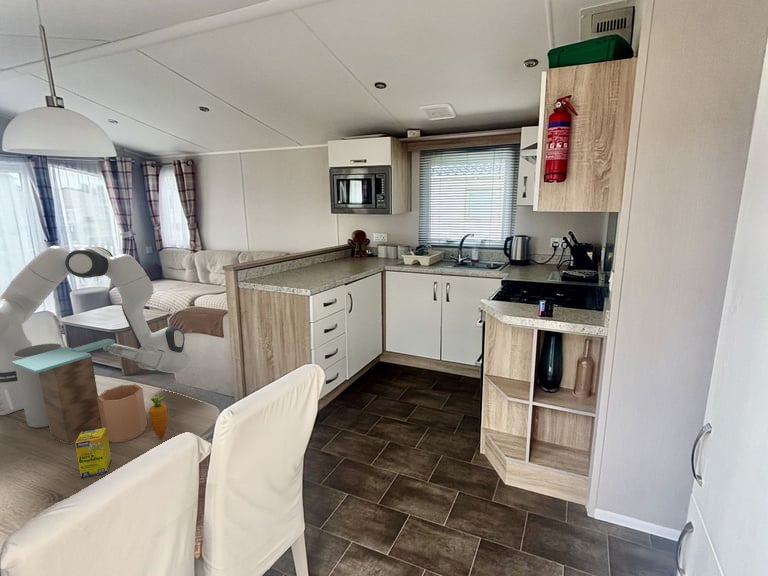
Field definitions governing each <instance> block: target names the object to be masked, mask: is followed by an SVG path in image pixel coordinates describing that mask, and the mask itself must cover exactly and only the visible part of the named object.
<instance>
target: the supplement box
mask: <svg viewBox="0 0 768 576" xmlns="http://www.w3.org/2000/svg"><path fill="white" fill-rule="evenodd" d="M74 445H75V452H76V457H77V462H78V468H79V474H80V479H85V478H90V477H93V476H94V475H95V476H98V475H97V474H99V475H102V474H101V473H105V474H107V473H108V471H109V469H110V466H109V465H111V464H112V463H111V462H112V456H111V449H110V442H109V441H108V435H107V428H106V427H105V428H101V429H96V430H90V431H83V432H81V433H80V435H79V437H78V439H77V440H76V442H74ZM108 468H109V469H108ZM107 470H108V471H107Z"/></svg>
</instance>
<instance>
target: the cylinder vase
mask: <svg viewBox="0 0 768 576" xmlns="http://www.w3.org/2000/svg"><path fill="white" fill-rule="evenodd" d="M63 347H64V346H63V344H61V343H54V342H53V343H50V342H49V343H42V344H36V345H32V346H31V347H27V348H23V349H21V350H18V351H16V352H14V353H13V360H14V361H16V360H20V359H23V358H27V357H31V356H34V355H38V354H41V353H45V352H49V351H52V350H56V349H59V348H63ZM15 369H16V374H17V378H18V383H19V388H20V393H21V397H22V402H23V407H24V409H23V410H24V411H23V412H24V415H25V416H24V417H25V421H26V424H27V426H28V427H31V428H35V429H37V428H46V427H49V422H48V417H47V412H46V407H45V402H44V397H43V392H42V387H41V382H40V377H39V373H33V372H31V371H28V370H25V369H23V368H20V367H17V366H15Z"/></svg>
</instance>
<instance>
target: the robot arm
mask: <svg viewBox="0 0 768 576" xmlns="http://www.w3.org/2000/svg"><path fill="white" fill-rule="evenodd" d="M70 274H71V275H73V276H75V277H77V278H83V279H85V278H86V279H91V278H96V277H104V276H106V277H107V278H109V279H110V280H111V282H112V283H113V284H114V286H115V288H116V289H117V291H118V294H119V295H120V297H121V303H122V304H121V309H122V312H123V315H124V317H125V319H126V322H127V324H128V326H129V328H130V330H131V332H132V335H133V336H134V339H135V342H136V346H137V348H135V347H131V346H127V345H123V344H119V343H115V344H112V345H109V346H106V347H103V348H102V350H103V351H106V352H107V351H108V354H112V355H115V356H118V357H122V358H125V359H129V360H132V361H134V362H135V363H136V365H137V367H138V368H140V369H144V370H149V371H159V372H162V373H167V374H168V373H170V374H179V373H181V372H184V371H185V370H186V369H187V368H188V367H189V365H190V359H191V358H190V357H191V356H190V355H189V354H188V353H187V351H186V348H185V340H186V339H185V338H186V337H185V335H184V332H183V331H182V330H181V329H180V328H179V327H177V326H174V325H169V326H166V327H164V328H161V329H159V330H157V331H155V332H152V331H151V329H150V326H149V324H148V323H147V321H146V320H147V319H146V318H145V316H144V308H145V306H146V305H147V304H148V302H149V301H150V300H151V299H152V297H153V294H154V285H153V283H152V281H151V278H150V277H149V275H148V274H147V272H146V271H145V270H144V268H143V267H142V265H140V263H139V262H138V261H137V260H136V259H135V258H134V257H133V256H132V255H131V254H128V253H120V254H117V255H116V254H115V255H113V254H112V252H111V251H109V250H108V249H106V248H103V247H99V246H87V247H86V246H85V247H80V248H76V249H73V250H70V249H68V248H66V247H64V246H60V245H51V246H49V247H47V248H46V249H44V250H42V251H41V252H40V253H38V254H37V255H36V256H35V257H34V258H32V260H30V261H29V262H28V264H27V265H25V267H23V269H22V270H20V272H19V273H18V274H17V275H16V276H15V277H14V278H13V279H12V280H11V281H10V283H9V285H8V286H7V288H6V289H5V290H4V292H2V293H1V295H0V416H6V415H8V414H11V413H14V412H17V411H21V410H24V407H23V402H22V397H21V393H20V388H19V383H18V378H17V374H16V369H15V365H12V363H11V362H13V361H14V360H13V353H14V352H16V351H18V350H21V349H23V348H27V347H31V346H33V343H32V341H31V340H30V339H28V337H27V335H26V334H25V331H24V329H23V324H24V323H26V322H27V321H28V320H29V319H30V318H31V317H32V316H33V315H34V314H35V312H36V311H37V310H38V308H39V307H40V306H41V305H42V304H43V303H44V302H45V300H46V299H47V298H48V297H49V295H51V294H52V292H54V290H56V288H57V287H58V286H59V285H60V284H61V283H62V282H63V281H64V280H65V279H66V278H67V276H68V275H70Z"/></svg>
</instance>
